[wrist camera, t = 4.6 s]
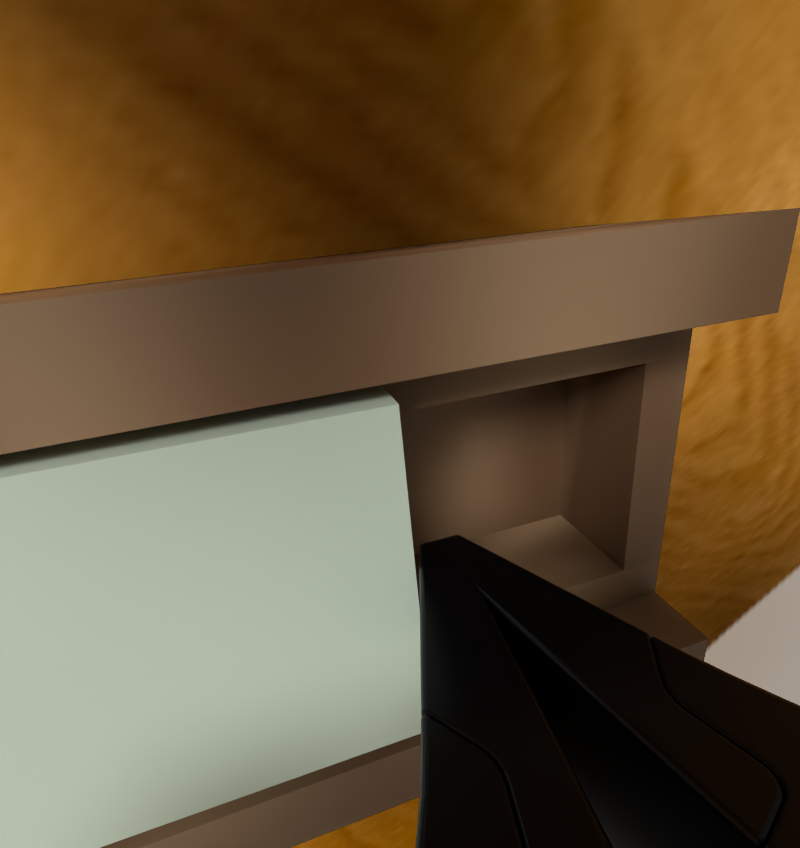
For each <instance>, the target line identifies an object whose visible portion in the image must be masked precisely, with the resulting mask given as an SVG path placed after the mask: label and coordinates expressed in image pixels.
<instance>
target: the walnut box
mask: <svg viewBox="0 0 800 848" xmlns="http://www.w3.org/2000/svg"><path fill="white" fill-rule="evenodd" d="M799 211H800V208H795V209H783V210H771V211H759V212H747V213H735V214H724V215H712V216H700V217H688V218H676V219H664V220H652V221H640V222H629V223H617V224H605V225H593V226H581V227H573V228H564V229H555V230H547V231H538V232H530V233H521V234H512V235H504V236H495V237H487V238H478V239H469V240H461V241H452V242H444V243H435V244H426V245H418V246H409V247H401V248H392V249H383V250H375V251H366V252H358V253H349V254H340V255H332V256H323V257H315V258H306V259H297V260H289V261H280V262H271V263H263V264H254V265H246V266H237V267H228V268H220V269H211V270H203V271H194V272H185V273H177V274H168V275H160V276H151V277H142V278H134V279H125V280H117V281H108V282H99V283H91V284H82V285H74V286H65V287H56V288H48V289H39V290H31V291H22V292H13V293H5V294H0V455H1V454H7V453H12V452H18V451H23V450H29V449H34V448H40V447H45V446H50V445H56V444H61V443H67V442H72V441H78V440H83V439H89V438H94V437H100V436H105V435H111V434H116V433H121V432H127V431H132V430H138V429H143V428H149V427H154V426H160V425H165V424H171V423H176V422H182V421H187V420H193V419H198V418H203V417H209V416H214V415H220V414H225V413H231V412H236V411H242V410H247V409H253V408H258V407H264V406H269V405H275V404H280V403H285V402H291V401H296V400H302V399H307V398H313V397H318V396H324V395H329V394H335V393H340V392H346V391H351V390H356V389H362V388H367V387H373V386H378V385H382V386H383V387H384V388H385V389H386V391H387V392H388V393H389V394H390V395H391V396H392V397H393V398H394V399H395V401H396V402H397V403H398V404H399V411H400V421H401V431H402V440H403V450H404V460H405V470H406V480H407V490H408V500H409V509H410V519H411V529H412V539H413V549H414V559H415V569H416V579H417V588H418V598H419V608H420V584H419V546H420V545H421V544H423V543H426V542H430V541H434V540H439V539H442V538H445V537H449V536H453V535H460V536H463V537H465V538H466V539H468V540H470V541H472V542H474V543H476V544H478V545H480V546H482V547H484V548H486V549H488V550H490V551H491V552H493V553H495V554H497V555H499V556H501V557H503V558H505V559H507V560H509V561H511V562H513V563H515V564H516V565H518V566H520V567H522V568H524V569H526V570H528V571H530V572H532V573H534V574H536V575H538V576H540V577H541V578H543V579H545V580H547V581H549V582H551V583H553V584H555V585H557V586H559V587H561V588H563V589H564V590H566V591H568V592H570V593H572V594H574V595H576V596H578V597H580V598H582V599H584V600H586V601H588V602H589V603H591V604H593V605H595V606H597V607H599V608H601V609H603V610H605V611H607V612H609V613H611V614H613V615H614V616H616V617H618V618H620V619H622V620H624V621H626V622H628V623H630V624H632V625H634V626H636V627H638V628H639V629H641V630H643V631H645V632H647V633H648V634H649V636H650V638H651V637H653V636H655V637H657V638H659V639H661V640H663V641H665V642H667V643H669V644H671V645H673V646H674V647H676V648H678V649H680V650H682V651H684V652H686V653H688V654H690V655H692V656H694V657H696V658H698V659H700V660H702V661H704V657H705V652H706V648H707V643H708V638H707V637H706V636H705V635H704V634H702V633H701V632H700V631H699V630H698V629H697V628H695V627H694V626H693V625H692V624H691V623H690V622H689V621H687V620H686V619H685V618H684V617H683V616H682V615H680V614H679V613H678V612H677V611H676V610H675V609H674V608H672V607H671V606H670V605H669V604H668V603H667V602H665V601H664V600H663V599H662V598H661V597H660V596H659V595H657V594H656V593H655V586H656V579H657V572H658V565H659V558H660V551H661V544H662V537H663V530H664V523H665V516H666V509H667V502H668V495H669V488H670V481H671V475H672V468H673V461H674V454H675V447H676V440H677V433H678V426H679V419H680V412H681V405H682V398H683V391H684V384H685V377H686V370H687V363H688V356H689V350H690V343H691V336H692V329H693V328H695V327H701V326H706V325H712V324H717V323H723V322H728V321H734V320H739V319H744V318H750V317H755V316H761V315H766V314H772V313H777V312H778V310H779V305H780V301H781V296H782V291H783V286H784V282H785V277H786V272H787V268H788V263H789V258H790V254H791V249H792V244H793V240H794V235H795V230H796V225H797V221H798V216H799ZM420 774H421V734H418V735H415V736H412V737H409V738H407V739H404V740H401V741H398V742H395V743H393V744H390V745H387V746H384V747H381V748H379V749H376V750H373V751H370V752H367V753H364V754H362V755H359V756H356V757H353V758H350V759H348V760H345V761H342V762H339V763H336V764H334V765H331V766H328V767H325V768H322V769H319V770H317V771H314V772H311V773H308V774H305V775H303V776H300V777H297V778H294V779H291V780H289V781H286V782H283V783H280V784H277V785H275V786H272V787H269V788H266V789H263V790H260V791H258V792H255V793H252V794H249V795H246V796H244V797H241V798H238V799H235V800H232V801H230V802H227V803H224V804H221V805H218V806H216V807H213V808H210V809H207V810H204V811H201V812H199V813H196V814H193V815H190V816H187V817H185V818H182V819H179V820H176V821H173V822H171V823H168V824H165V825H162V826H159V827H157V828H154V829H151V830H148V831H145V832H142V833H140V834H137V835H134V836H131V837H128V838H126V839H123V840H120V841H117V842H114V843H112V844H109V845H106V846H103V847H100V848H290V847H293V846H296V845H298V844H301V843H303V842H306V841H308V840H311V839H313V838H316V837H318V836H321V835H323V834H326V833H329V832H331V831H334V830H336V829H339V828H341V827H344V826H346V825H349V824H351V823H354V822H356V821H359V820H362V819H364V818H367V817H369V816H372V815H374V814H377V813H379V812H382V811H384V810H387V809H389V808H392V807H395V806H397V805H400V804H402V803H405V802H407V801H410V800H412V799H415V798H417V797H420Z"/></svg>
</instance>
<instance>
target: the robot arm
mask: <svg viewBox="0 0 800 848" xmlns="http://www.w3.org/2000/svg"><path fill="white" fill-rule="evenodd" d="M419 584H420V670H421V717H422V718H421V774H420V801H419V813H418V825H417V836H416V848H800V706H799V705H797V704H795V703H792V702H790V701H788V700H785V699H783V698H781V697H779V696H777V695H774V694H772V693H770V692H768V691H766V690H764V689H761V688H759V687H757V686H755V685H753V684H750V683H748V682H746V681H744V680H742V679H739V678H737V677H735V676H733V675H731V674H728V673H726V672H724V671H722V670H720V669H718V668H716V667H714V666H712V665H710V664H708V663H706V662H704V661H702V660H700V659H698V658H696V657H694V656H692V655H690V654H688V653H686V652H684V651H682V650H680V649H678V648H676V647H674V646H673V645H671V644H669V643H667V642H665V641H663V640H661V639H659V638H657V637H655V636H653V637H651V638H650V636H649V634H648V633H647V632H645V631H643V630H641V629H639V628H638V627H636V626H634V625H632V624H630V623H628V622H626V621H624V620H622V619H620V618H618V617H616V616H614V615H613V614H611V613H609V612H607V611H605V610H603V609H601V608H599V607H597V606H595V605H593V604H591V603H589V602H588V601H586V600H584V599H582V598H580V597H578V596H576V595H574V594H572V593H570V592H568V591H566V590H564V589H563V588H561V587H559V586H557V585H555V584H553V583H551V582H549V581H547V580H545V579H543V578H541V577H540V576H538V575H536V574H534V573H532V572H530V571H528V570H526V569H524V568H522V567H520V566H518V565H516V564H515V563H513V562H511V561H509V560H507V559H505V558H503V557H501V556H499V555H497V554H495V553H493V552H491V551H490V550H488V549H486V548H484V547H482V546H480V545H478V544H476V543H474V542H472V541H470V540H468V539H466V538H465V537H463V536H460V535H453V536H449V537H445V538H442V539H439V540H434V541H430V542H426V543H423V544H421V545H420V546H419Z"/></svg>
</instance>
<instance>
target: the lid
mask: <svg viewBox="0 0 800 848" xmlns="http://www.w3.org/2000/svg"><path fill="white" fill-rule="evenodd" d="M421 718H422V717H421V670H420V608H419V598H418V588H417V579H416V569H415V559H414V549H413V539H412V529H411V519H410V509H409V500H408V490H407V480H406V470H405V460H404V450H403V440H402V431H401V421H400V411H399V404H398V403H397V402H396V401H395V399H394V398H393V397H392V396H391V395H390V394H389V393H388V392H387V391H386V389H385V388H384V387H383V386H382V385H378V386H373V387H367V388H362V389H356V390H351V391H346V392H340V393H335V394H329V395H324V396H318V397H313V398H307V399H302V400H296V401H291V402H285V403H280V404H275V405H269V406H264V407H258V408H253V409H247V410H242V411H236V412H231V413H225V414H220V415H214V416H209V417H203V418H198V419H193V420H187V421H182V422H176V423H171V424H165V425H160V426H154V427H149V428H143V429H138V430H132V431H127V432H121V433H116V434H111V435H105V436H100V437H94V438H89V439H83V440H78V441H72V442H67V443H61V444H56V445H50V446H45V447H40V448H34V449H29V450H23V451H18V452H12V453H7V454H1V455H0V848H100V847H103V846H106V845H109V844H112V843H114V842H117V841H120V840H123V839H126V838H128V837H131V836H134V835H137V834H140V833H142V832H145V831H148V830H151V829H154V828H157V827H159V826H162V825H165V824H168V823H171V822H173V821H176V820H179V819H182V818H185V817H187V816H190V815H193V814H196V813H199V812H201V811H204V810H207V809H210V808H213V807H216V806H218V805H221V804H224V803H227V802H230V801H232V800H235V799H238V798H241V797H244V796H246V795H249V794H252V793H255V792H258V791H260V790H263V789H266V788H269V787H272V786H275V785H277V784H280V783H283V782H286V781H289V780H291V779H294V778H297V777H300V776H303V775H305V774H308V773H311V772H314V771H317V770H319V769H322V768H325V767H328V766H331V765H334V764H336V763H339V762H342V761H345V760H348V759H350V758H353V757H356V756H359V755H362V754H364V753H367V752H370V751H373V750H376V749H379V748H381V747H384V746H387V745H390V744H393V743H395V742H398V741H401V740H404V739H407V738H409V737H412V736H415V735H418V734H421Z"/></svg>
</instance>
